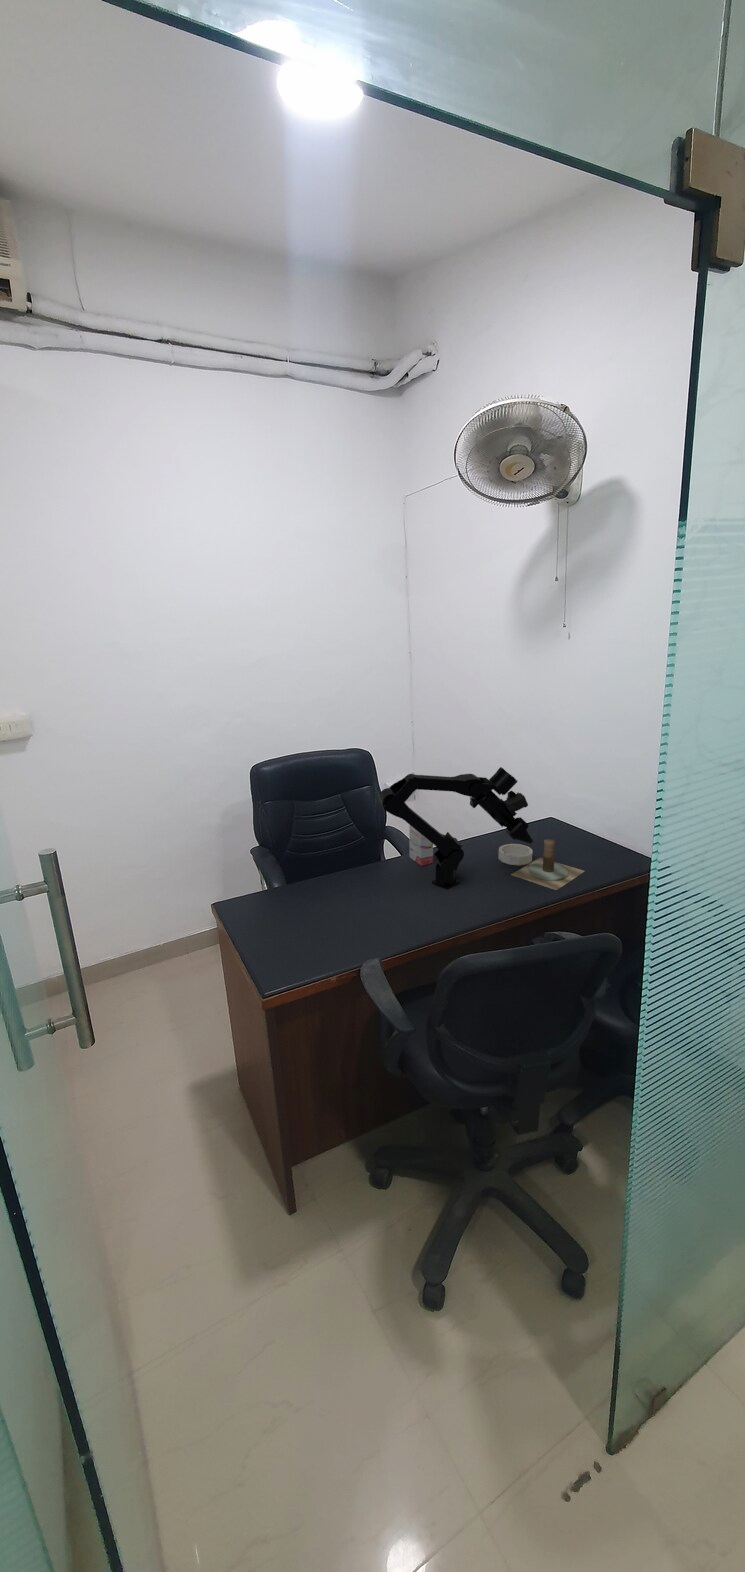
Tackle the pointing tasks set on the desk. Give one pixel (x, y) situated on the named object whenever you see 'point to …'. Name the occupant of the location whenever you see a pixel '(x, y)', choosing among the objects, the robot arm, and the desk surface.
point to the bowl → (515, 854)
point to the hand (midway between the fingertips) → (526, 836)
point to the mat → (554, 885)
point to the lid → (548, 865)
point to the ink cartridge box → (420, 847)
